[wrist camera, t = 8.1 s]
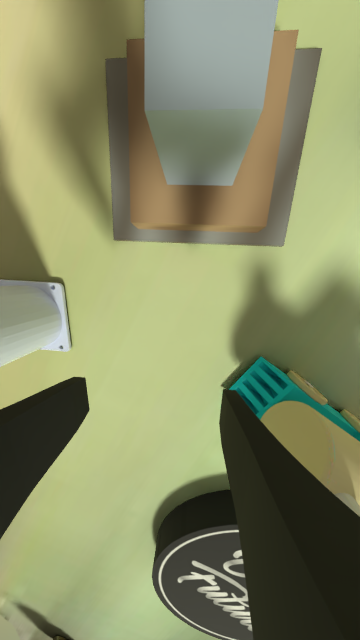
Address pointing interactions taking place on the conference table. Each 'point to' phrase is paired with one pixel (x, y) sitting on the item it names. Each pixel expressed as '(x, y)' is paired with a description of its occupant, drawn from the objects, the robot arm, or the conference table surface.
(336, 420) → the toy train
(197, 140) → the block
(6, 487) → the robot arm
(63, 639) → the statue
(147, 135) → the base block
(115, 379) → the conference table surface
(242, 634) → the wall sign
